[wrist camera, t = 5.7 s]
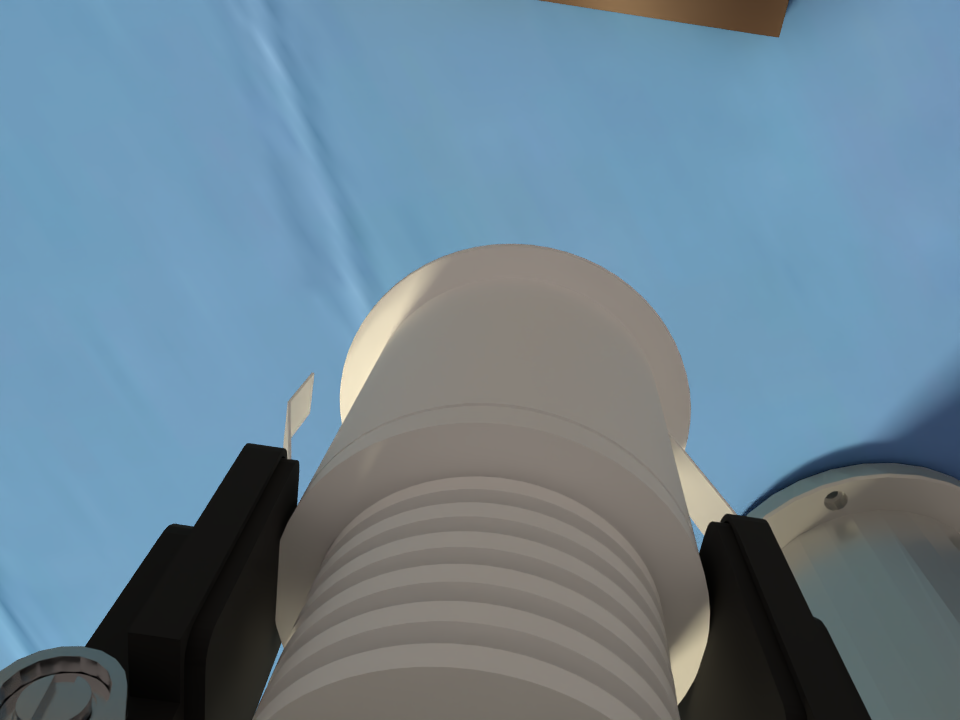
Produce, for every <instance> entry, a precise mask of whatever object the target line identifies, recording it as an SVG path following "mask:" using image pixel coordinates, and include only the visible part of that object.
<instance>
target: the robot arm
mask: <svg viewBox="0 0 960 720" xmlns="http://www.w3.org/2000/svg"><path fill="white" fill-rule="evenodd" d="M298 482H299V461H298V460H292V459H287V450H286V449H285V448H278V447H272V446H265V445H258V444H251V443H247V444H246V445H245V446H244V448H243V449H242V451H241V452H240V454H239V456H238V457H237V459H236V460H235V462H234V463H233V465H232V467H231V468H230V470H229V471H228V473H227V475H226V476H225V478H224V479H223V481H222V483H221V484H220V486H219V487H218V489H217V491H216V492H215V494H214V495H213V497H212V498H211V500H210V502H209V503H208V505H207V506H206V508H205V510H204V511H203V513H202V514H201V516H200V518H199V519H198V521H197V522H196V524H195V526H194V527H193V526H186V525H179V524H172V525H169V526H168V527H167V528H166V529H165V530H164V531H163V533H162V534H161V536H160V537H159V539H158V540H157V541H156V543H155V544H154V546H153V547H152V549H151V550H150V552H149V553H148V555H147V556H146V558H145V559H144V561H143V562H142V564H141V565H140V566H139V568H138V569H137V571H136V572H135V574H134V575H133V577H132V578H131V580H130V581H129V583H128V584H127V586H126V587H125V588H124V590H123V591H122V593H121V594H120V596H119V597H118V599H117V600H116V602H115V603H114V605H113V606H112V608H111V609H110V611H109V612H108V613H107V615H106V616H105V618H104V619H103V621H102V622H101V624H100V625H99V627H98V628H97V630H96V631H95V633H94V634H93V635H92V637H91V638H90V640H89V641H88V643H87V644H86V646H85V647H83V646H71V647H57V648H52V649H47V650H42V651H38V652H36V653H33V654H31V655H29V656H26V657H24V658H21V659H19V660H17V661H15V662H14V663H12V664H11V665H9V666H8V667H6V668H5V669H3V670H1V671H0V720H252V719H253V717H254V714H255V711H256V709H257V706H258V703H259V701H260V698H261V695H262V693H263V690H264V687H265V685H266V682H267V679H268V677H269V674H270V671H271V669H272V666H273V664H274V661H275V658H276V656H277V653H278V650H279V648H280V645H281V639H280V636H279V633H278V630H277V626H276V622H275V616H276V599H277V582H278V565H279V548H280V539H281V537H282V535H283V532H284V530H285V528H286V525H287V523H288V521H289V520H290V518H291V516H292V514H293V513H294V511H295V509H296V507H297V498H298ZM699 556H700V559H701V563H702V567H703V570H704V574H705V579H706V584H707V589H708V594H709V606H710V622H709V634H708V639H707V644H706V647H705V650H704V654H703V657H702V660H701V663H700V666H699V669H698V672H697V675H696V677H695V679H694V681H693V683H692V685H691V686H690V688H689V690H688V691H687V693H686V695H685V696H684V698H683V699H682V700H681V702H680V703H679V704H678V711H679V715H680V720H960V481H959V480H957V479H956V478H954V477H952V476H949V475H946V474H943V473H940V472H937V471H934V470H931V469H928V468H925V467H919V466H912V465H905V464H898V463H873V464H859V465H853V466H848V467H842V468H837V469H831V470H828V471H825V472H822V473H820V474H817V475H814V476H811V477H808V478H805V479H802V480H800V481H798V482H796V483H794V484H792V485H790V486H788V487H787V488H785V489H783V490H781V491H779V492H777V493H775V494H773V495H772V496H771V497H769V498H768V499H767V500H765V501H764V502H763V503H761V504H760V505H759V506H757V507H756V508H755V509H754V510H752V511H751V512H750V513H748V515H747V516H741V515H734V514H725V515H724V516H723V517H722V519H721V521H720V522H714V521H712V522H710V523H709V525H708V526H707V529H706V532H705V535H704V539H703V542H702V545H701V549H700V552H699Z"/></svg>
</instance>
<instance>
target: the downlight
mask: <svg viewBox="0 0 960 720" xmlns="http://www.w3.org/2000/svg"><path fill="white" fill-rule="evenodd" d="M313 380H314V373H311V374H310V376H309V377H308V378H307V379H306V381H305V382H304V383H303V384H302V385H301V387H300V388H299V389H298V390H297V391H296V393H295V394H294V395H293V396H292V397H291V399H290V400H289V401H288V406H287V415H286V425H285V435H284V448H285V449H286V450H287V459H291V438H292V436H293V435H294V434H295V432H296V431H297V430H298V428H299V427H300V426H301V424H302V423H303V422H304V420H305V419H306V418H307V416H308V415H309V413H310V406H311V398H312V389H313ZM340 413H341V420H342V425H341V427H340V429H339V431H338V433H337V435H336V436H335V438H334V440H333V442H332V444H331V445H330V447H329V449H328V451H327V453H326V455H325V456H324V458H323V460H322V462H321V464H320V466H319V467H318V469H317V471H316V473H315V475H314V476H313V478H312V480H311V482H310V484H309V486H308V487H307V489H306V491H305V493H304V495H303V496H302V498H301V500H300V502H299V504H298V506H297V507H296V509H295V511H294V513H293V514H292V516H291V518H290V520H289V521H288V523H287V525H286V528H285V530H284V532H283V535H282V537H281V539H280V548H279V565H278V582H277V599H276V616H275V622H276V626H277V630H278V633H279V636H280V639H281V642H282V645H283V647H284V650H283V652H282V654H281V656H280V658H279V661H278V663H277V665H276V667H275V669H274V672H273V674H272V676H271V678H270V681H269V683H268V686H267V688H266V690H265V692H264V695H263V697H262V699H261V701H260V703H259V705H258V708H257V710H256V712H255V714H254V717H253V719H252V720H680V715H679V711H678V704H679V703H680V702H681V700H682V699H683V698H684V696H685V695H686V693H687V691H688V690H689V688H690V686H691V685H692V683H693V681H694V679H695V677H696V675H697V672H698V669H699V666H700V663H701V660H702V657H703V654H704V650H705V647H706V644H707V639H708V634H709V622H710V606H709V594H708V589H707V584H706V579H705V574H704V570H703V567H702V563H701V559H700V556H699V552H698V548H697V544H696V540H695V536H694V532H693V528H692V524H691V521H690V517H691V518H692V520H693V521H694V522H695V524H696V525H697V527H698V528H699V529H700V531H701V532H702V533H703V535H705V532H706V529H707V526H708V525H709V523H710V522H712V521H714V522H720V521H721V519H722V517H723V516H724V515H725V514H734V515H737V514H736V513H735V511H734V510H733V509H732V508H731V507H730V505H729V504H728V503H727V502H726V500H725V499H724V498H723V497H722V496H721V494H720V493H719V492H718V491H717V489H716V488H715V487H714V486H713V485H712V483H711V482H710V481H709V480H708V478H707V477H706V476H705V475H704V474H703V472H702V471H701V470H700V469H699V467H698V466H697V465H696V464H695V463H694V461H693V460H692V459H691V458H690V456H689V455H688V454H687V453H686V452H685V447H686V443H687V439H688V434H689V427H690V413H691V403H690V390H689V385H688V380H687V375H686V371H685V368H684V365H683V361H682V358H681V355H680V353H679V351H678V348H677V346H676V344H675V341H674V339H673V338H672V336H671V334H670V332H669V331H668V329H667V327H666V325H665V324H664V322H663V321H662V320H661V318H660V317H659V315H658V314H657V313H656V311H655V310H654V309H653V308H652V307H651V306H650V305H649V303H648V302H647V301H646V300H645V299H644V298H643V297H642V296H641V295H640V294H639V293H638V292H637V291H635V290H634V289H633V288H632V287H631V286H630V285H628V284H627V283H626V282H624V281H623V280H622V279H620V278H619V277H618V276H616V275H615V274H613V273H611V272H610V271H608V270H606V269H605V268H603V267H601V266H599V265H597V264H595V263H593V262H591V261H589V260H587V259H585V258H582V257H579V256H576V255H573V254H571V253H568V252H564V251H560V250H556V249H552V248H548V247H542V246H535V245H524V244H495V245H487V246H480V247H474V248H470V249H466V250H461V251H458V252H455V253H452V254H449V255H446V256H443V257H441V258H438V259H436V260H434V261H432V262H430V263H427V264H425V265H424V266H422V267H420V268H419V269H417V270H415V271H414V272H412V273H410V274H409V275H408V276H406V277H405V278H403V279H402V280H401V281H399V282H398V283H397V284H396V285H395V286H393V287H392V288H391V289H390V290H389V291H388V292H387V293H386V294H385V295H384V296H383V297H382V298H381V299H380V300H379V301H378V303H377V304H376V305H375V306H374V307H373V309H372V310H371V311H370V313H369V314H368V316H367V317H366V318H365V320H364V321H363V323H362V325H361V326H360V328H359V330H358V332H357V334H356V335H355V337H354V340H353V342H352V344H351V347H350V349H349V351H348V355H347V358H346V361H345V365H344V369H343V374H342V380H341V390H340ZM689 516H690V517H689Z"/></svg>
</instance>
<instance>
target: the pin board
mask: <svg viewBox="0 0 960 720" xmlns="http://www.w3.org/2000/svg"><path fill="white" fill-rule="evenodd" d="M540 1H547V2H553V3H560V4H566V5H573V6H579V7H586V8H592V9H598V10H605V11H611V12H618V13H624V14H631V15H637V16H643V17H650V18H656V19H663V20H669V21H676V22H682V23H688V24H695V25H701V26H708V27H714V28H721V29H727V30H734V31H740V32H746V33H753V34H759V35H766V36H773V37H779V35H780V32H781V28H782V24H783V20H784V17H785V13H786V9H787V5H788V2H789V0H540Z"/></svg>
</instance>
